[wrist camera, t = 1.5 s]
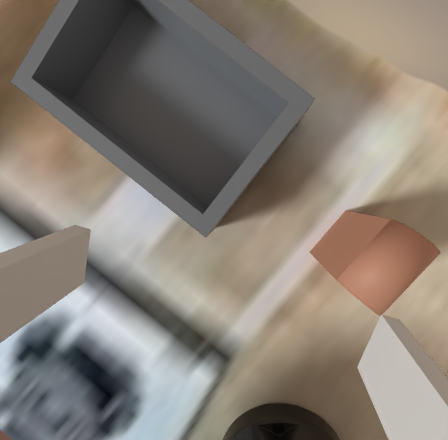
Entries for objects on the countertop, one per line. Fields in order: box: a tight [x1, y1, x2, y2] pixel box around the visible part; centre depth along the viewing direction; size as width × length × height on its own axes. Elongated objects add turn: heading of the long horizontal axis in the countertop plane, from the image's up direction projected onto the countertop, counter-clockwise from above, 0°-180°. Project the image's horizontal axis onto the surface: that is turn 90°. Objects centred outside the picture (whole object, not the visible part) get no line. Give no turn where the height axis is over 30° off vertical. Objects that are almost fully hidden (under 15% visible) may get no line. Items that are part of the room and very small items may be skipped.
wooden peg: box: [310, 211, 440, 316], centre depth 25 cm, size 4×6×12 cm, turn 142°
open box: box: [10, 0, 315, 237], centre depth 28 cm, size 23×15×7 cm, turn 52°
